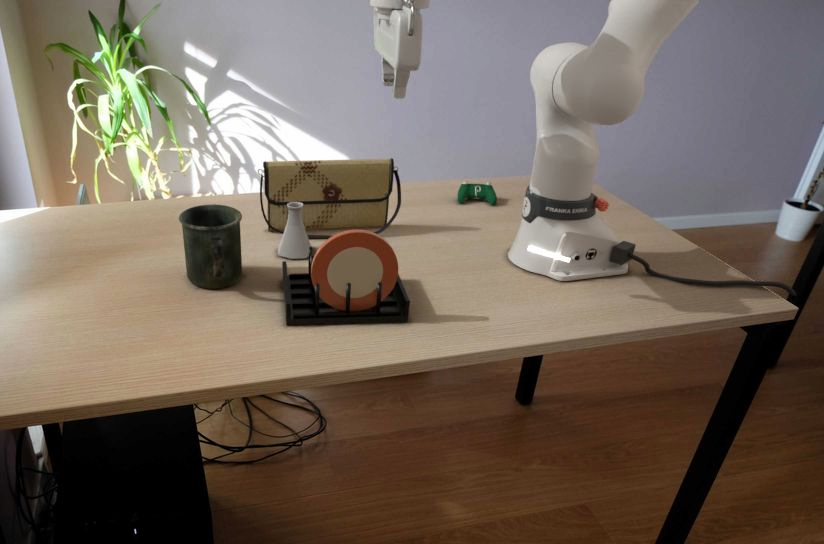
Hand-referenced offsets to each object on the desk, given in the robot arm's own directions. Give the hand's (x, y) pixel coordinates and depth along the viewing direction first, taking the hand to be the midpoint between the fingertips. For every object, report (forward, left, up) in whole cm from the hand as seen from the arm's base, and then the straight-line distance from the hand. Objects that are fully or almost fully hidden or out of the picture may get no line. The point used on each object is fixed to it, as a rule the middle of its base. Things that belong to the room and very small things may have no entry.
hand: (393, 91), depth 105 cm
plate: (+7, +14, -25) cm, 29 cm away
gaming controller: (-30, -40, -33) cm, 60 cm away
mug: (+30, 0, -33) cm, 45 cm away
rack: (+8, +8, -33) cm, 35 cm away
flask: (+15, -12, -33) cm, 38 cm away
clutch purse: (+7, -22, -33) cm, 41 cm away
